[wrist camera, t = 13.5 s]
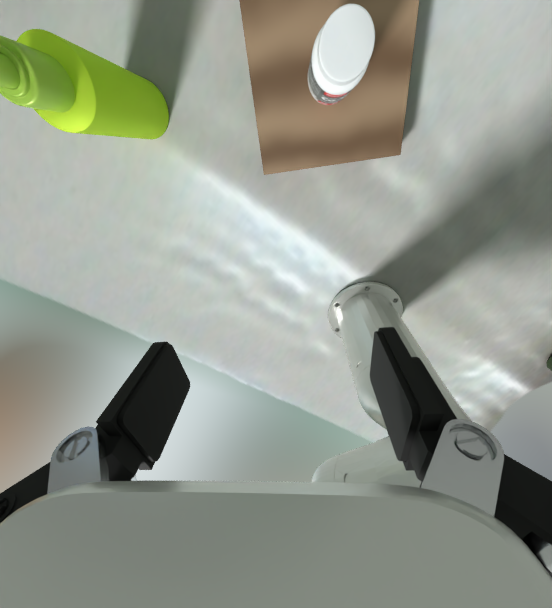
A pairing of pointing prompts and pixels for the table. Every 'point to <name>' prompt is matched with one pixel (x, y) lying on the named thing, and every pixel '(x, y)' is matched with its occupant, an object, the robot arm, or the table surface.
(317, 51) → the pill bottle
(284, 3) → the stand
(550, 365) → the character mug
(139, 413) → the robot arm
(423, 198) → the table surface
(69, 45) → the soap dispenser
